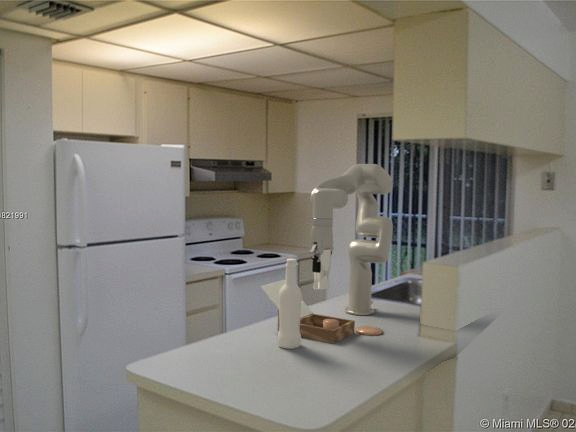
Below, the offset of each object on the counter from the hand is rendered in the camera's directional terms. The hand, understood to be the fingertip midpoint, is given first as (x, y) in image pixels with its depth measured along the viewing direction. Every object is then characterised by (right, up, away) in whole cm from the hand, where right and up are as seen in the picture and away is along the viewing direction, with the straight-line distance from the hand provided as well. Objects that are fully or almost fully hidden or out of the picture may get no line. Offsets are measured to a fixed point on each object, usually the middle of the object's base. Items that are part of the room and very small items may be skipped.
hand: (321, 270), depth 203 cm
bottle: (-12, -24, -16) cm, 32 cm away
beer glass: (0, -7, +1) cm, 7 cm away
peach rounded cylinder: (+3, -24, -4) cm, 24 cm away
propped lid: (-13, -22, +8) cm, 27 cm away
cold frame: (0, -23, 0) cm, 23 cm away
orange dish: (+18, -24, +4) cm, 30 cm away
